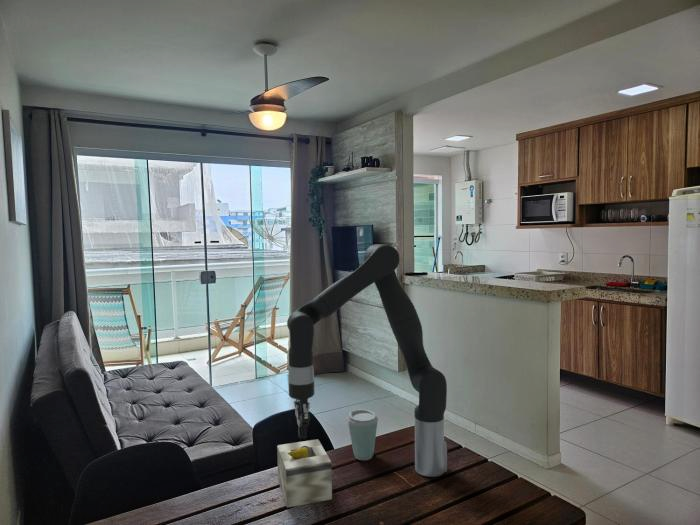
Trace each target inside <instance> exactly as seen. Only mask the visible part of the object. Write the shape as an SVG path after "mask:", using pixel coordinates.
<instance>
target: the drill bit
mask: <svg viewBox="0 0 700 525" xmlns="http://www.w3.org/2000/svg"><path fill="white" fill-rule="evenodd" d="M313 452H314V451H311V448H310V447H308V446H302V447H301V448H300V449H297V450H294V451H292V452H289V453H287V454H289V455H290V456H292V457H293V458H294V459H302V458H308V457H313V456H312V454H313Z"/></svg>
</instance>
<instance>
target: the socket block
mask: <svg viewBox="0 0 700 525" xmlns="http://www.w3.org/2000/svg"><path fill="white" fill-rule="evenodd" d="M302 446H308V447H310V448H311V451H314V452H313V454H312V456H313V457H308V458H302V459H294V458H293V457H292V456H290V455H289V454H287V453H289V452H292V451H294V450H297V449H300V448H301V447H302ZM276 450H277V453H276V454H277V480H278V484H279V487H280V490H281V494H282V497H283V500H284V503H285V505H286V506H285V507H286V508H292V507H298V506H302V505H303V506H304V505H309V504H314V503H320V502H324V501H330V500H332V499H333V483H332V482H333V481H332V469H333V464H332V460H331V458H330V457H329V455H328V454H327V452H326V451H325V449H324V447H323V445H322V443H321V441H320V440H319V439H310V440H305V441H297V442H290V443H284V444H278V445H277V446H276Z"/></svg>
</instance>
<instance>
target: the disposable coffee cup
mask: <svg viewBox="0 0 700 525" xmlns="http://www.w3.org/2000/svg"><path fill="white" fill-rule="evenodd" d="M346 421H347V423H348V424H347V426H348V431H349V435H350V436H349V437H350V440H351V442H350V443H351V445H352V446H351V447H352V451H353V456H354V458H355V459H357V460H359V461H369V460H371V459H373V456H374V455H375V454H374V453H375V445H376V436H377V429H378V428H377V427H378V421H379V418H378V416H377V414H376V413H375V412H373V411H371V410H369V409H364V408H356V409H352V410H351V411H349V413H348V414H347V417H346Z"/></svg>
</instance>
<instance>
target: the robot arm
mask: <svg viewBox="0 0 700 525" xmlns="http://www.w3.org/2000/svg"><path fill="white" fill-rule="evenodd" d="M400 259H401V258H400V254H399V252H398V250H397V249H396V248H395V247H394V246H392V245H390V244H385V243H383V244H382V243H376V244H373V245H370V246H369V247H368V248H366V251H365V253H364V258H363V260H364V262H363V263H362V264H361V265H359V267H357V268H356V269H355V270H354V271H352V272H350V273H349V274H347V275H346V276H344V277H343V278H340V279H339V280H337V281H335V282H334V283H332V284H331V285H330V286H328V287H327V288H326V289H324V290H322V292H320V293H319V294H318V295H317V296H316V297H314V298H313V299H312V300H310V301H309V302H307V303H305V304H304V305H302V306H300V307H299V308H297V309H296V310H295V311H293V312H292V313H291V314H290V315H289V316H288V319H287V321H286V322H287V324H286V325H287V326H286V327H287V329H288V330H289V340H290V341H289V342H290V343H289V344H290V347H289V350H288V371H287V372H288V396H289V397H290V398H291V399H292V400H293V406H294V410H295V412H294V413H295V419H296V420H295V421H296V423H297V425H298V429H297V430H298V438H299V439H301V440H303V439H307V437H308V434H307V433H308V428H307V427H308V426H309V425H310V421H311V414H312V413H311V412H310V409H311V406H310V404H311V403H310V402H309V399H310V398H313V397H314V395H315V371H314V357H313V356H314V353H313V344H314V334H315V331H314V327H315V326H314V325H316V324H317V323H318V322H320V321H321V320H323V319H327V318H329V317H331V316H332V315H333V314H334V313H336V312H337V311H338V310H339V309H341V308H342V307H343V306H344V305H346V304H347V303H348V302H349V301H350V300H351V299H352V298H355V296H357V295H358V294H359V293H360V292H362V291H363V290H365V289H366V288H368V287H370V286H371V285H372V284H374V285H375V288H377V291H378V293H379V297H380V300H381V303H382V306H383V308H384V312H385V315H386V317H387V318H386V319H387V320H388V323H389V326H390V329H391V331H392V334H393V336H394V337H395V341H396V343H397V345H398V348H399V350H400V352H401V354H402V355H403V359H404V362H405V365H406V369H407V371H408V376H409V381H410V383H411V385H412V388H414V390H415V391H417V393H418V405H416V406H415V407H414V470H415V472H416V473H417V474H419V475H421V476H422V477H423V476H424V477H435V478H436V477H440V476H442V475H443V474H444V473H447V472H448V465H447V463H448V455H447V454H448V450H447V449H448V446H447V441H446V440H445V412H446V409H447V391H448V389H447V388H448V385H447V379H446V376H445V375H444V373H443V372H441V371H440V370H438V369H436V368H435V367H434V366H433V365H432V363H431V362H430V360H429V357H428V355H427V353H426V350H425V346H424V337H423V336H424V334H423V326H422V323H421V320H420V316H419V314H418V312H417V309H416V307H415V305H414V303H413V302H412V300H411V299H410V297H409V295H408V293H406V291H405V289H404V288H403V287H402V284H401V283H400V281H399V279H398V276H397V273H396V269H397V268H398V266H399V264H400Z"/></svg>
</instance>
